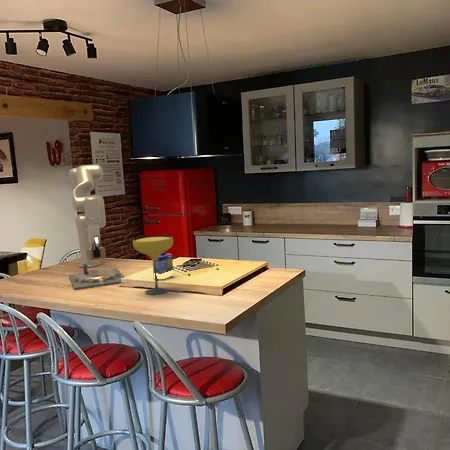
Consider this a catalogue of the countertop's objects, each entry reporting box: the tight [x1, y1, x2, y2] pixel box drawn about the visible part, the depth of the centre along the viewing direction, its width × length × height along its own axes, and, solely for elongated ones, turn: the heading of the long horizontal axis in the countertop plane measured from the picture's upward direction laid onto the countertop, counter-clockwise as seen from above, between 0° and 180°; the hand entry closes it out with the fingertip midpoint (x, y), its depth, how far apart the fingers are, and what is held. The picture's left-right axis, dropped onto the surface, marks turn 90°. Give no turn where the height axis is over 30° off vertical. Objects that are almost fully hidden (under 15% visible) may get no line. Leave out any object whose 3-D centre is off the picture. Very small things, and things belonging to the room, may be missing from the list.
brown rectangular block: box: [86, 246, 107, 260], centre depth 240 cm, size 5×8×5 cm, turn 127°
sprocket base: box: [68, 268, 126, 291], centre depth 247 cm, size 32×26×3 cm
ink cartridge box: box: [152, 251, 174, 274], centre depth 241 cm, size 10×6×14 cm, turn 144°
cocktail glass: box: [132, 234, 174, 296], centre depth 215 cm, size 18×18×25 cm
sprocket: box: [73, 264, 121, 283], centre depth 246 cm, size 24×24×6 cm
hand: (96, 256), depth 240 cm, fingers closed on brown rectangular block, 5 cm apart
